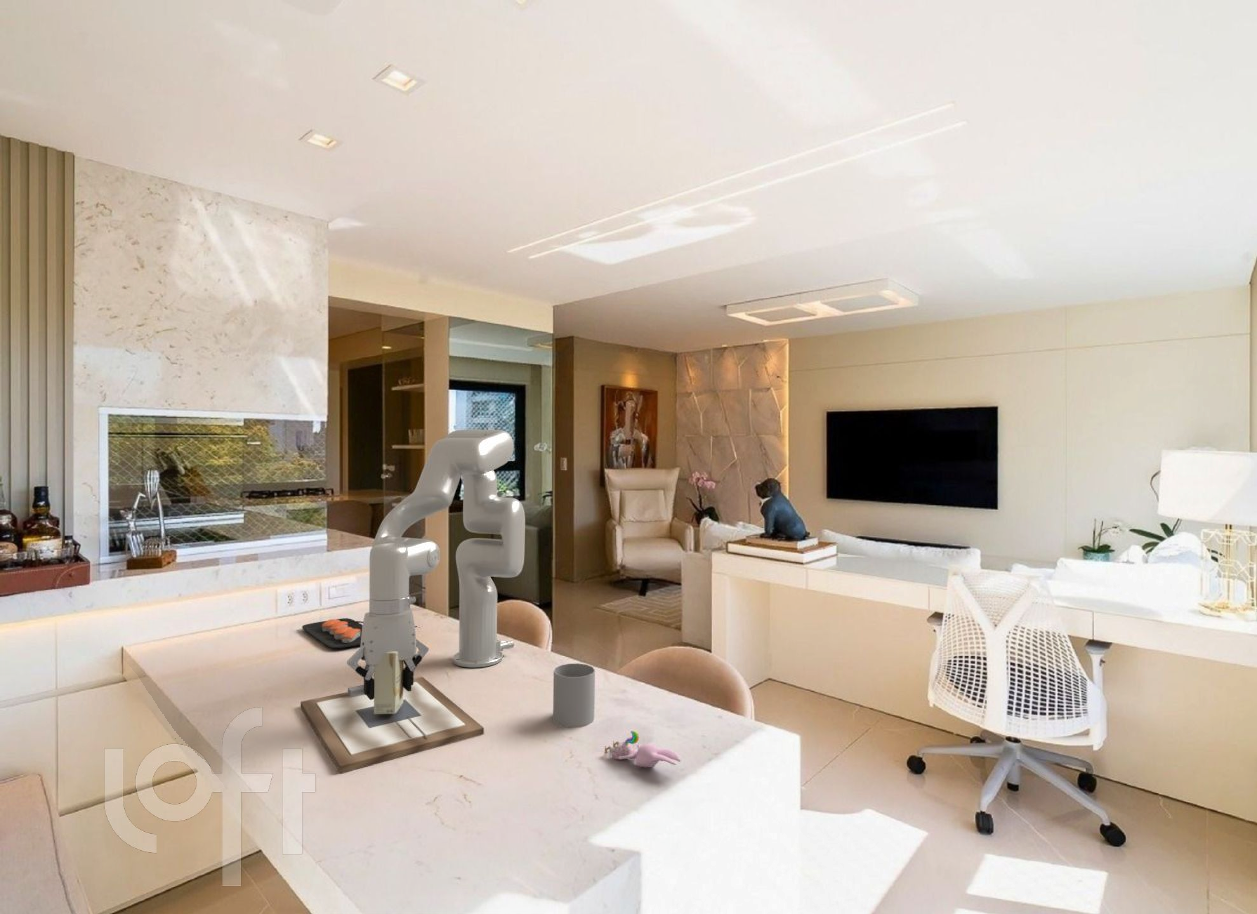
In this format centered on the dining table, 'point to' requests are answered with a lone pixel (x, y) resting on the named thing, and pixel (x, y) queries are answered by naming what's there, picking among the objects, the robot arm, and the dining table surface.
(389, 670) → the skincare box
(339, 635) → the sushi plate
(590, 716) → the cup
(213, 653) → the dining table surface
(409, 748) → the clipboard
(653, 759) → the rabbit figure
